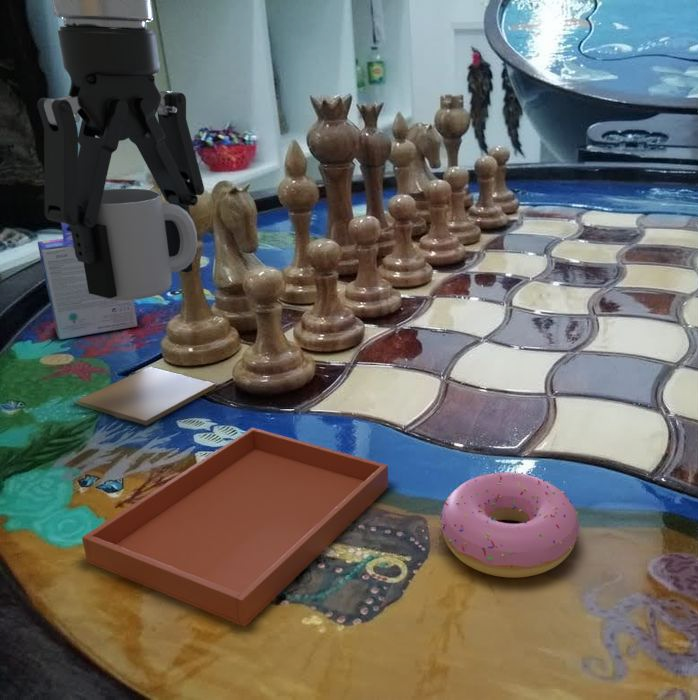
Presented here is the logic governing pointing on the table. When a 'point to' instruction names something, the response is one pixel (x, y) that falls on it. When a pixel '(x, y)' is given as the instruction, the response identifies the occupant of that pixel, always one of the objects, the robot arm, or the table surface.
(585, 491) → the table surface
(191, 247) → the cup
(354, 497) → the tray
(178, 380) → the cork mat
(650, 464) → the table surface
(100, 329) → the ink cartridge box
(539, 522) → the doughnut
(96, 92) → the robot arm
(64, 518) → the table surface
